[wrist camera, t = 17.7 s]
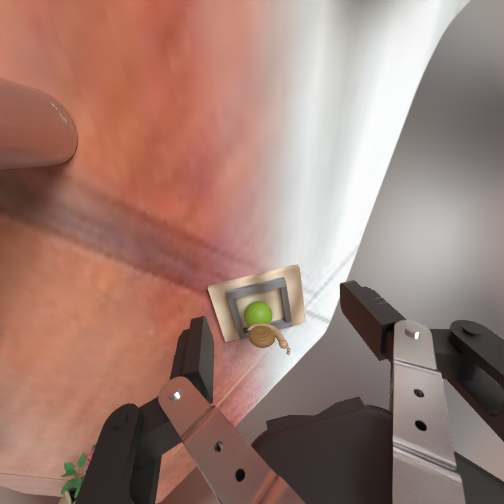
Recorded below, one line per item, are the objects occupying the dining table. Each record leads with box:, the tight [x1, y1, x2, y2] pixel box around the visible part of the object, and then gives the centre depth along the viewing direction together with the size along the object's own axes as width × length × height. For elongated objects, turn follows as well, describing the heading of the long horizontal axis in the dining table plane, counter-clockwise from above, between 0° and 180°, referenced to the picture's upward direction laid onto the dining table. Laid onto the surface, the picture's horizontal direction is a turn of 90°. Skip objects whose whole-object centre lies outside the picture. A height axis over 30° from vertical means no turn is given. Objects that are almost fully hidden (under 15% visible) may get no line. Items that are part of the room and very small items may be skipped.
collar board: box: [208, 264, 306, 342], centre depth 46 cm, size 18×14×3 cm
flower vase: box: [59, 446, 95, 504], centre depth 58 cm, size 12×12×35 cm
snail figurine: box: [244, 301, 290, 355], centre depth 41 cm, size 5×6×12 cm
